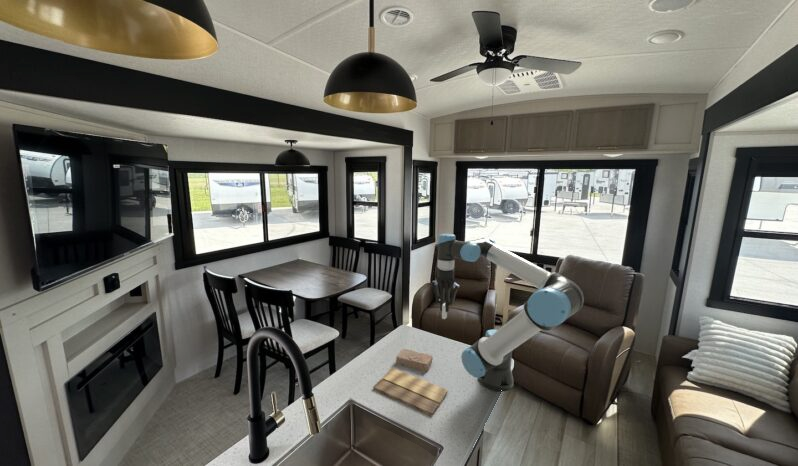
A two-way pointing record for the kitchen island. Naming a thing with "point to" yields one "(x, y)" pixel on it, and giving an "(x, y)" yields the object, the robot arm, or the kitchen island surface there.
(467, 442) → the kitchen island surface
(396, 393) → the laid row
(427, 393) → the plank
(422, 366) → the brick
